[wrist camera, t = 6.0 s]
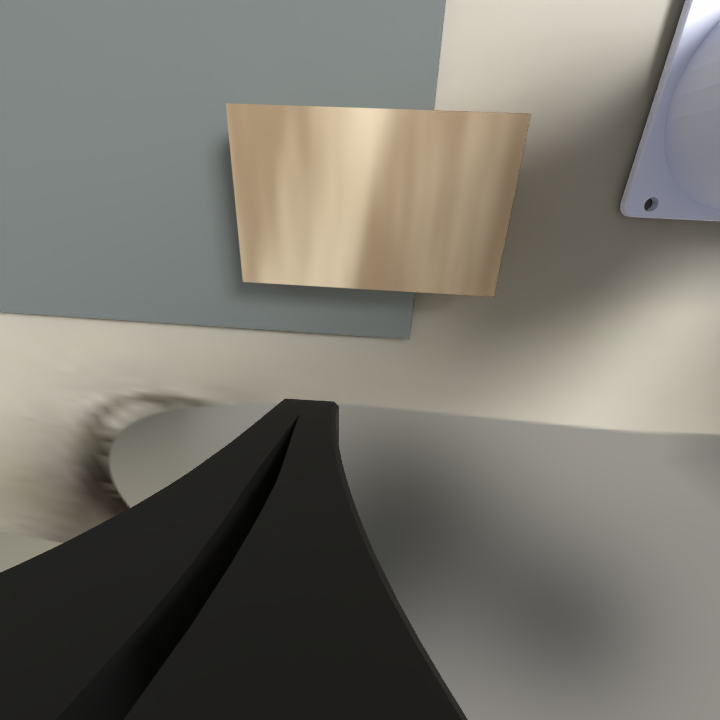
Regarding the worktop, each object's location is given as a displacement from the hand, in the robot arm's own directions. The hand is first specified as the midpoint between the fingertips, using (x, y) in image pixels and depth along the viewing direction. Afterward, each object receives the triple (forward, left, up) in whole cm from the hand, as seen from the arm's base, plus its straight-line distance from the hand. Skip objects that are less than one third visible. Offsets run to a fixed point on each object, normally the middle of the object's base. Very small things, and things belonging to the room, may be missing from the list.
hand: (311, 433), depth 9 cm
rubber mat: (+8, -7, -10) cm, 15 cm away
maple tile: (+4, -5, -8) cm, 10 cm away
